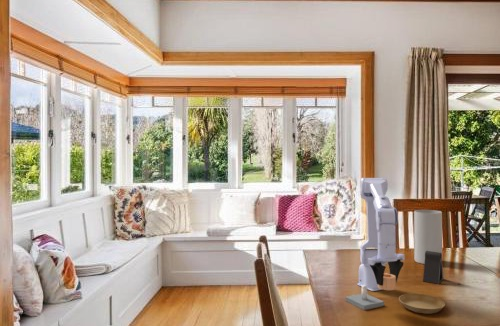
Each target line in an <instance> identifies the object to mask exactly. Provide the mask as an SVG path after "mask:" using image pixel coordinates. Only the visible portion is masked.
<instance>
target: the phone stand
mask: <svg viewBox="0 0 500 326" xmlns="http://www.w3.org/2000/svg"><path fill="white" fill-rule="evenodd" d="M423 265H424V267H423V277H422V282H425V283H429V284H436V285H439V284H441V282H443V280H444V279H445V278H444V267H443V252H442V253H439V252H431V251H426V252H425V264H423Z"/></svg>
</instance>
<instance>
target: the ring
mask: <svg viewBox="0 0 500 326" xmlns="http://www.w3.org/2000/svg"><path fill="white" fill-rule="evenodd" d="M396 287H397V282H396V276H395V275H392V274H390V273H387V272H386V273H385V272H384V276H383V285H382V286H381V285H378V288H380V289H382V291H383V290H384V291H394V290H396V289H397V288H396Z"/></svg>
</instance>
